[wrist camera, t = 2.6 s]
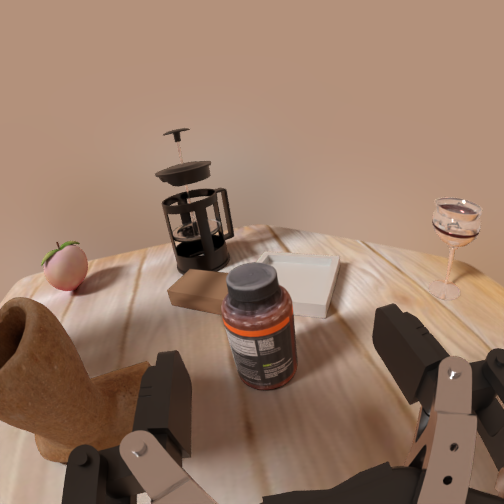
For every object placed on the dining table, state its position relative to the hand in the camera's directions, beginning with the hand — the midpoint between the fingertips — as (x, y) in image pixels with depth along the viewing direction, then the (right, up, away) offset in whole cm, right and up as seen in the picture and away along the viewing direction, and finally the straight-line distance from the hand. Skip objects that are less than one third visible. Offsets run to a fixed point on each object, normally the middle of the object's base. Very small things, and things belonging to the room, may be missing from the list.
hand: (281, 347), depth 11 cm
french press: (-9, +2, +40) cm, 41 cm away
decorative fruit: (-34, -4, +37) cm, 50 cm away
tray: (+4, -1, +29) cm, 30 cm away
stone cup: (-16, -14, +10) cm, 23 cm away
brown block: (-7, -3, +30) cm, 31 cm away
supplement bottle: (0, -8, +17) cm, 18 cm away
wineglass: (+25, -2, +22) cm, 34 cm away
